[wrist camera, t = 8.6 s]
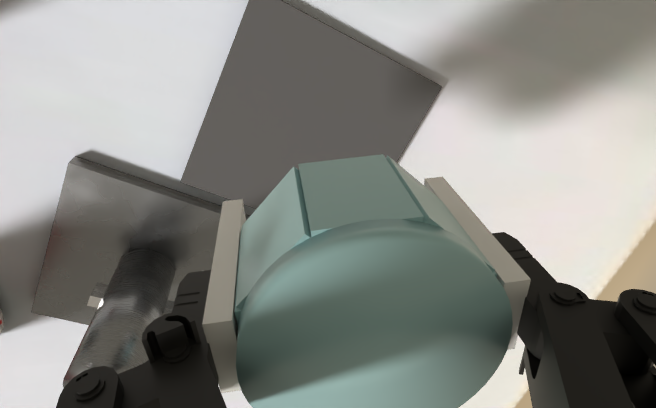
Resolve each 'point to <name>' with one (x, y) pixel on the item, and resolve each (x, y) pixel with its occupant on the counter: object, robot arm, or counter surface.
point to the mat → (300, 104)
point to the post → (120, 259)
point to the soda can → (1, 321)
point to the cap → (363, 294)
